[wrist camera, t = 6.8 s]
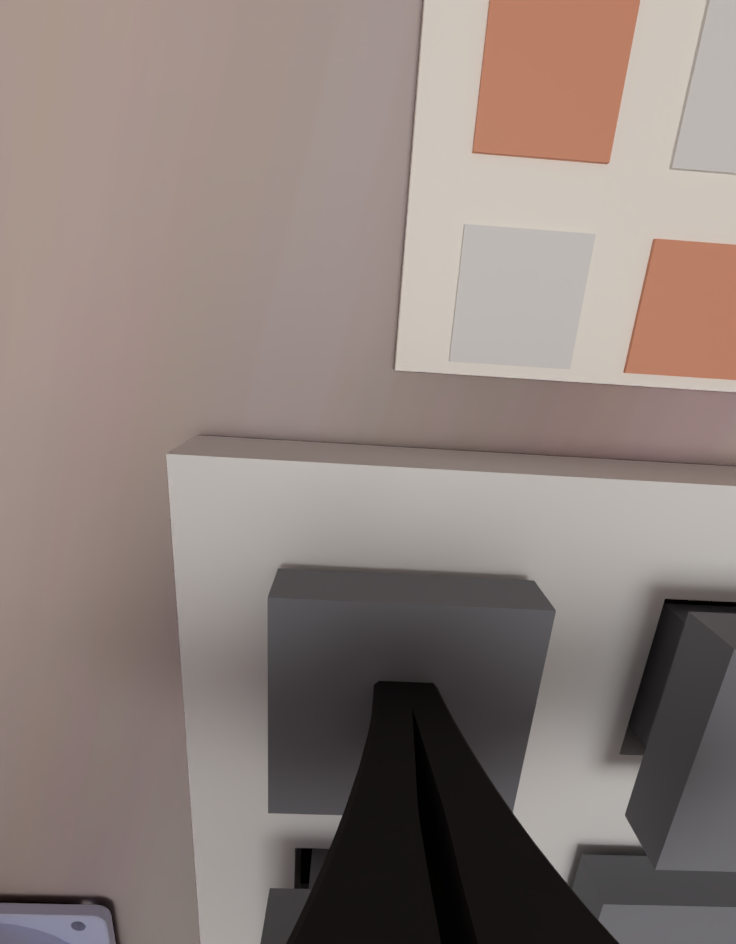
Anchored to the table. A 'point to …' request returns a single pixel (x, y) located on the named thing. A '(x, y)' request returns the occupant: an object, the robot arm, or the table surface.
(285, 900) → the button
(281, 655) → the button
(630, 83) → the pattern card
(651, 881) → the button
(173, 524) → the button board
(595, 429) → the table surface
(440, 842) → the robot arm
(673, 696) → the button
